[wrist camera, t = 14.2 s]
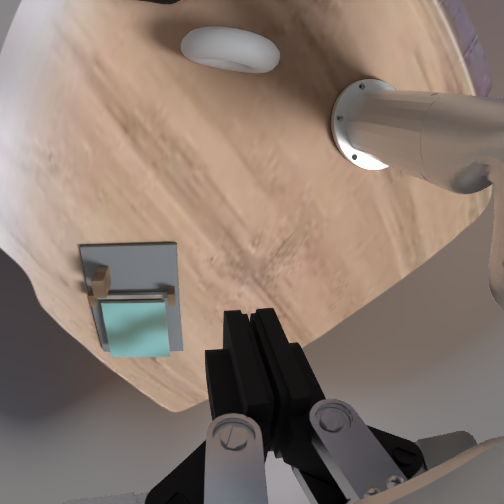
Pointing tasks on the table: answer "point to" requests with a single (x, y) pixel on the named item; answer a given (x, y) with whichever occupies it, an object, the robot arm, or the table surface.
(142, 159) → the table surface
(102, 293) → the hinge stand
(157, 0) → the carrying case or bag
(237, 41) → the donut
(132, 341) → the tile
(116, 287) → the mat board
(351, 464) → the robot arm
